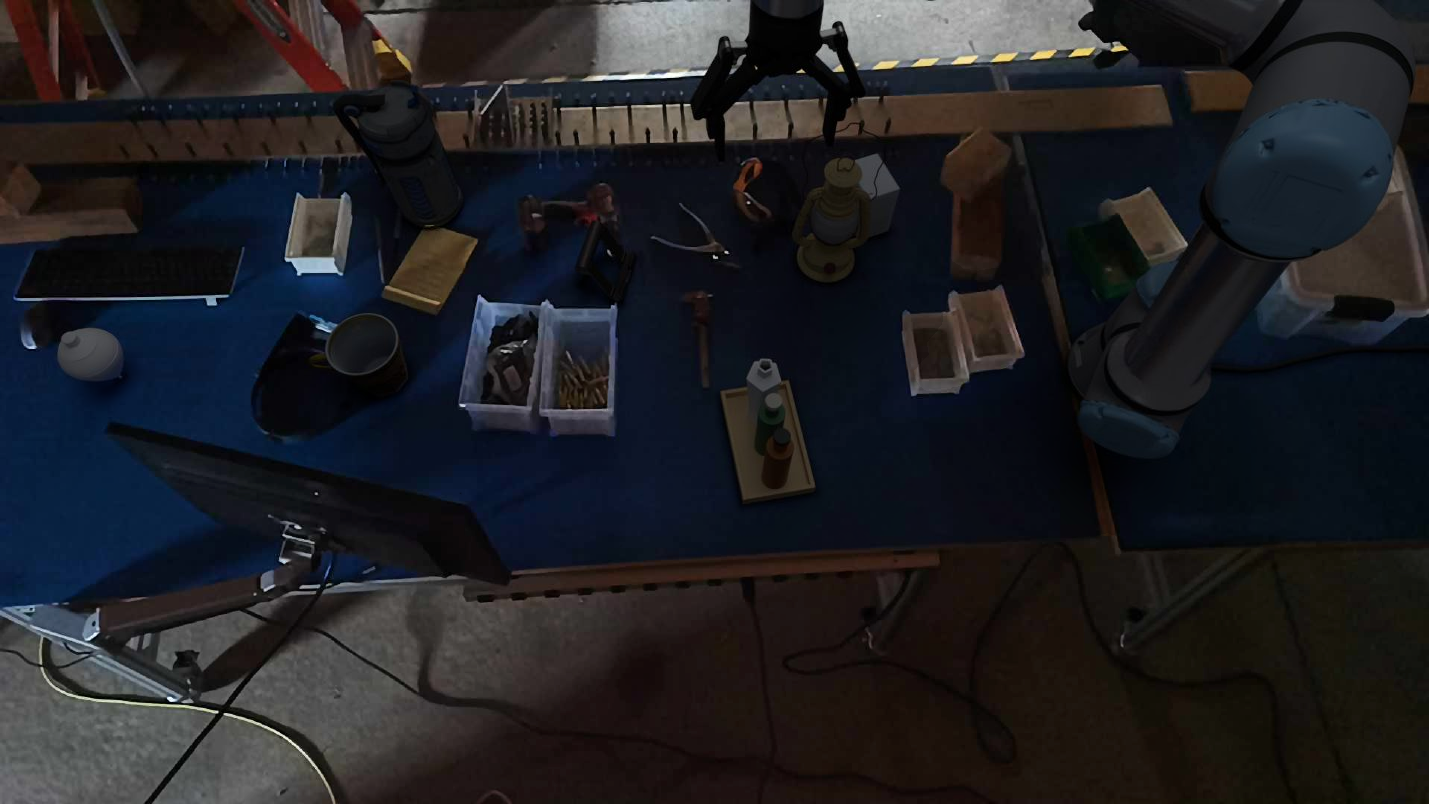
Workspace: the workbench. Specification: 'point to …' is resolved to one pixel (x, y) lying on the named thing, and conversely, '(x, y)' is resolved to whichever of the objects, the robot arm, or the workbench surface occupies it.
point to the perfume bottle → (761, 385)
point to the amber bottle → (777, 459)
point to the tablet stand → (589, 268)
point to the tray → (752, 462)
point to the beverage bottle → (404, 150)
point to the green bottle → (768, 421)
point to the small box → (878, 193)
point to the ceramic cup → (366, 354)
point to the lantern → (833, 220)
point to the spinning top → (90, 355)
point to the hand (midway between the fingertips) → (773, 146)
